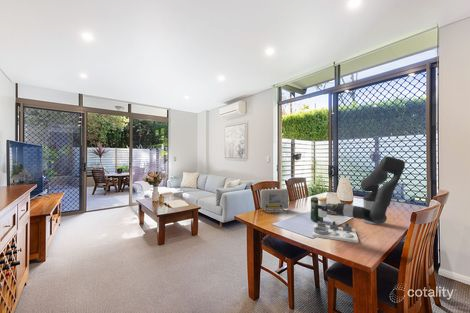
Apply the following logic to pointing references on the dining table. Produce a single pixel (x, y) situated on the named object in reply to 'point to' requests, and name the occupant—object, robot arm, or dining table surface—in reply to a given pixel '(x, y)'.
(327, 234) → the panel
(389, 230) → the dining table surface
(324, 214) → the post
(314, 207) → the coffee jar
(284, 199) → the network device
